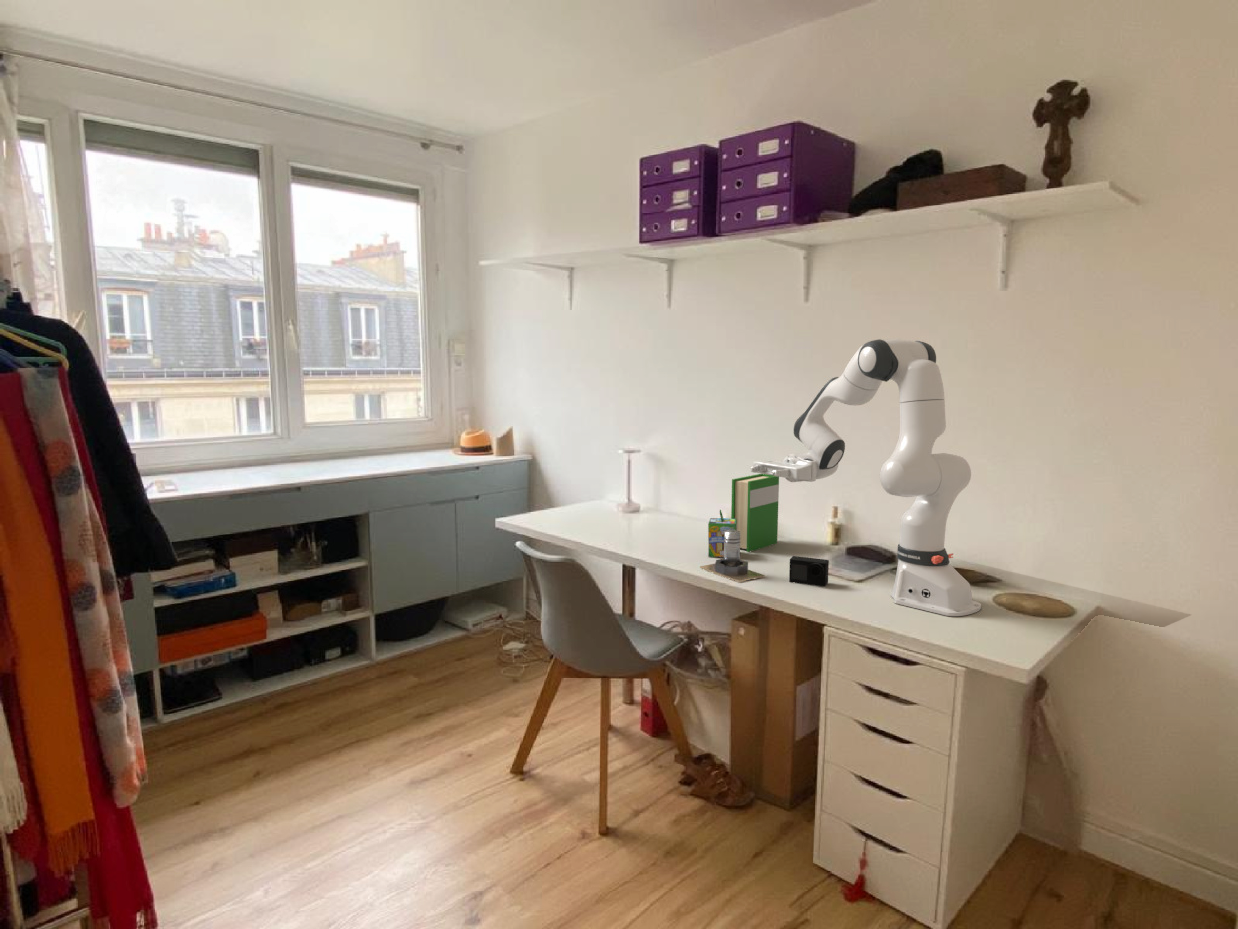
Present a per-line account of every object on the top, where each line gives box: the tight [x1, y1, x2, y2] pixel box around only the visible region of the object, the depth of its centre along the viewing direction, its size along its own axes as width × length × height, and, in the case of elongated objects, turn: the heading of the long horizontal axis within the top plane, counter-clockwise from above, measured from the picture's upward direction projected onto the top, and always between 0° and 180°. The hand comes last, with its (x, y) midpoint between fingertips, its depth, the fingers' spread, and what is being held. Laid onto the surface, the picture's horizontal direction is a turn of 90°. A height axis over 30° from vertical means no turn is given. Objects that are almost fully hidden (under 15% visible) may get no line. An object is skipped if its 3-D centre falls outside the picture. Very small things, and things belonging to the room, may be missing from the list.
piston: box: [723, 530, 741, 566], centre depth 221 cm, size 5×5×12 cm
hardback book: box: [730, 473, 780, 553], centre depth 254 cm, size 18×7×24 cm, turn 136°
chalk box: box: [707, 509, 737, 558], centre depth 243 cm, size 9×9×15 cm
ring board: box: [699, 558, 766, 583], centre depth 222 cm, size 18×10×3 cm, turn 33°
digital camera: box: [788, 555, 830, 587], centre depth 211 cm, size 10×5×7 cm, turn 63°
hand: (763, 471), depth 225 cm, fingers open, 8 cm apart
